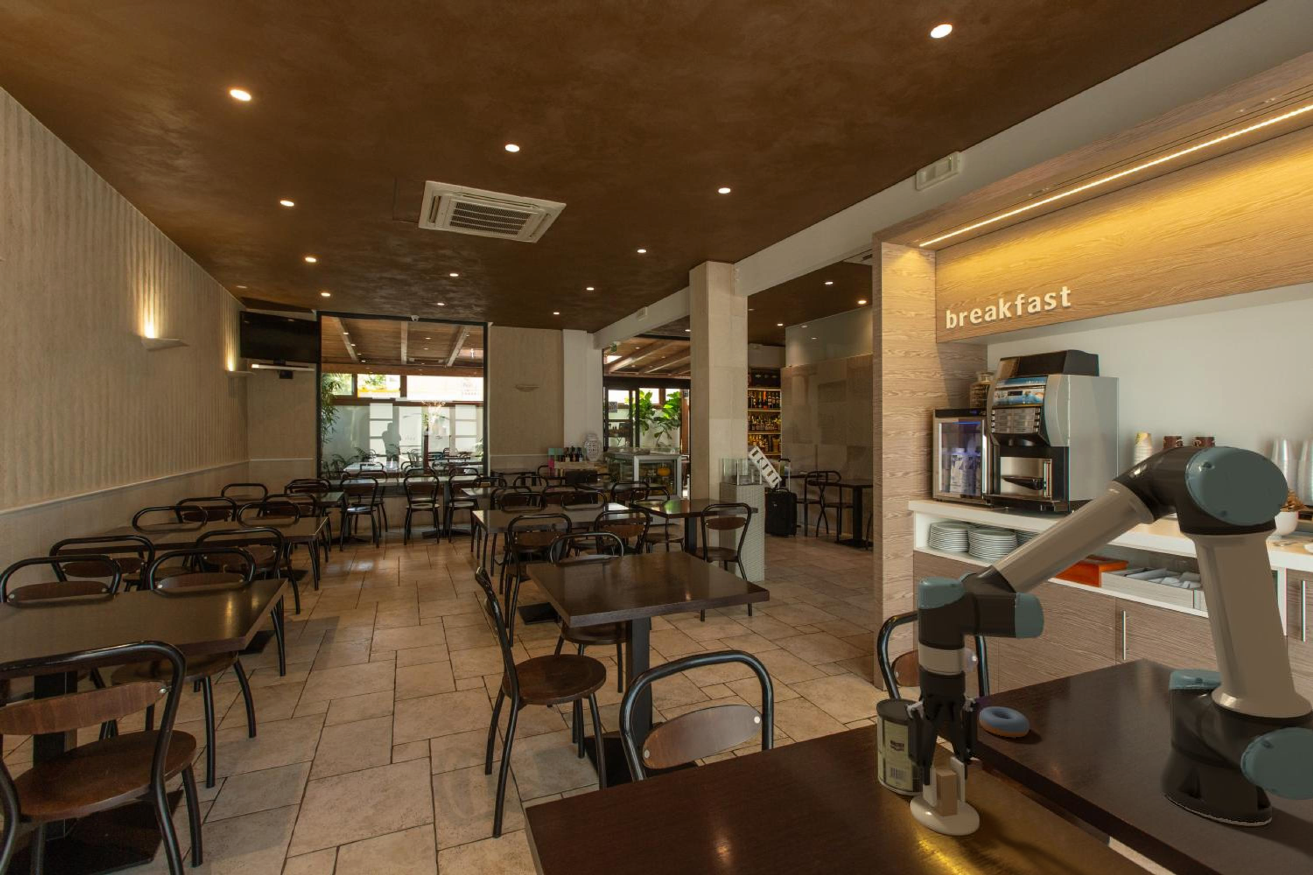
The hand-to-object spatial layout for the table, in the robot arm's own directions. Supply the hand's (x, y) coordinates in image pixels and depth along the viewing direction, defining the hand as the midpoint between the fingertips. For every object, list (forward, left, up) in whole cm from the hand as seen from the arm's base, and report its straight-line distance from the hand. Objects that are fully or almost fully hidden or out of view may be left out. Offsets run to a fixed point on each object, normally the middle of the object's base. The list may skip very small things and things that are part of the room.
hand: (943, 799), depth 109 cm
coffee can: (+6, -10, -3) cm, 12 cm away
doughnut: (-16, -39, -3) cm, 42 cm away
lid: (0, 0, -3) cm, 3 cm away
